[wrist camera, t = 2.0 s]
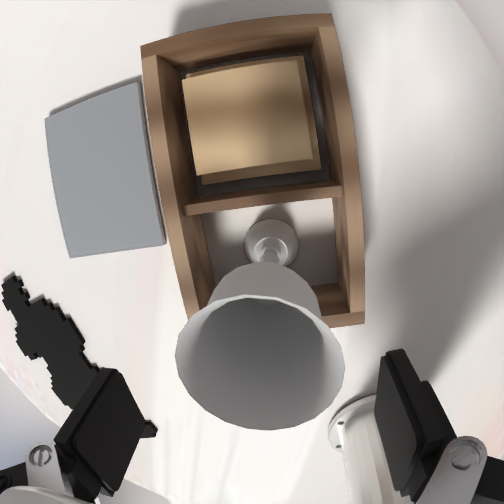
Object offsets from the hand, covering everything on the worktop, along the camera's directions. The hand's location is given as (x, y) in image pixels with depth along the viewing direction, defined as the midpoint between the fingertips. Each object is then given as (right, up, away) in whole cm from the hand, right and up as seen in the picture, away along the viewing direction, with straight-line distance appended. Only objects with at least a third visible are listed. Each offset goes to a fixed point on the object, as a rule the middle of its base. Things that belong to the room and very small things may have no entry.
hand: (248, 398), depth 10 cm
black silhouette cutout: (-27, -11, +27) cm, 40 cm away
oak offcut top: (0, +16, +14) cm, 21 cm away
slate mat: (-15, +13, +18) cm, 27 cm away
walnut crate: (+1, +12, +17) cm, 21 cm away
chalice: (+2, +6, +19) cm, 20 cm away
